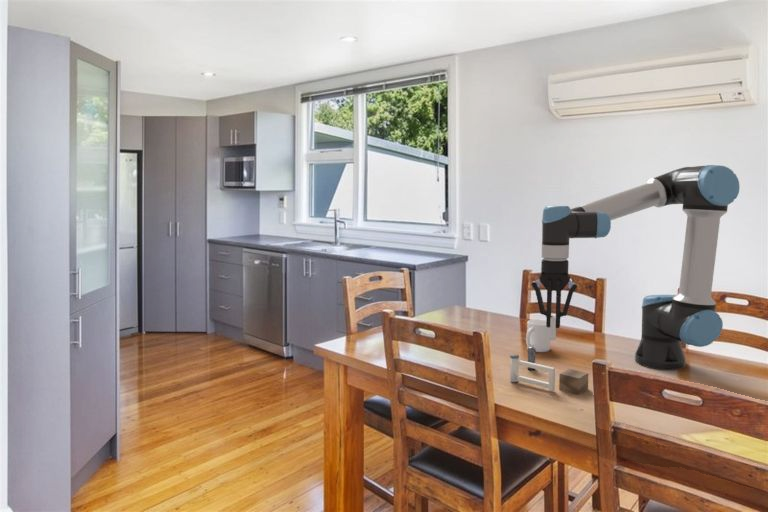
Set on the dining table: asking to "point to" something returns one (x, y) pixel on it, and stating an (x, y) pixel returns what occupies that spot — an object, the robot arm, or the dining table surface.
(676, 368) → the robot arm
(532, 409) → the dining table surface
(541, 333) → the mug
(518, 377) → the gate
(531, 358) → the latch post
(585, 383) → the block
